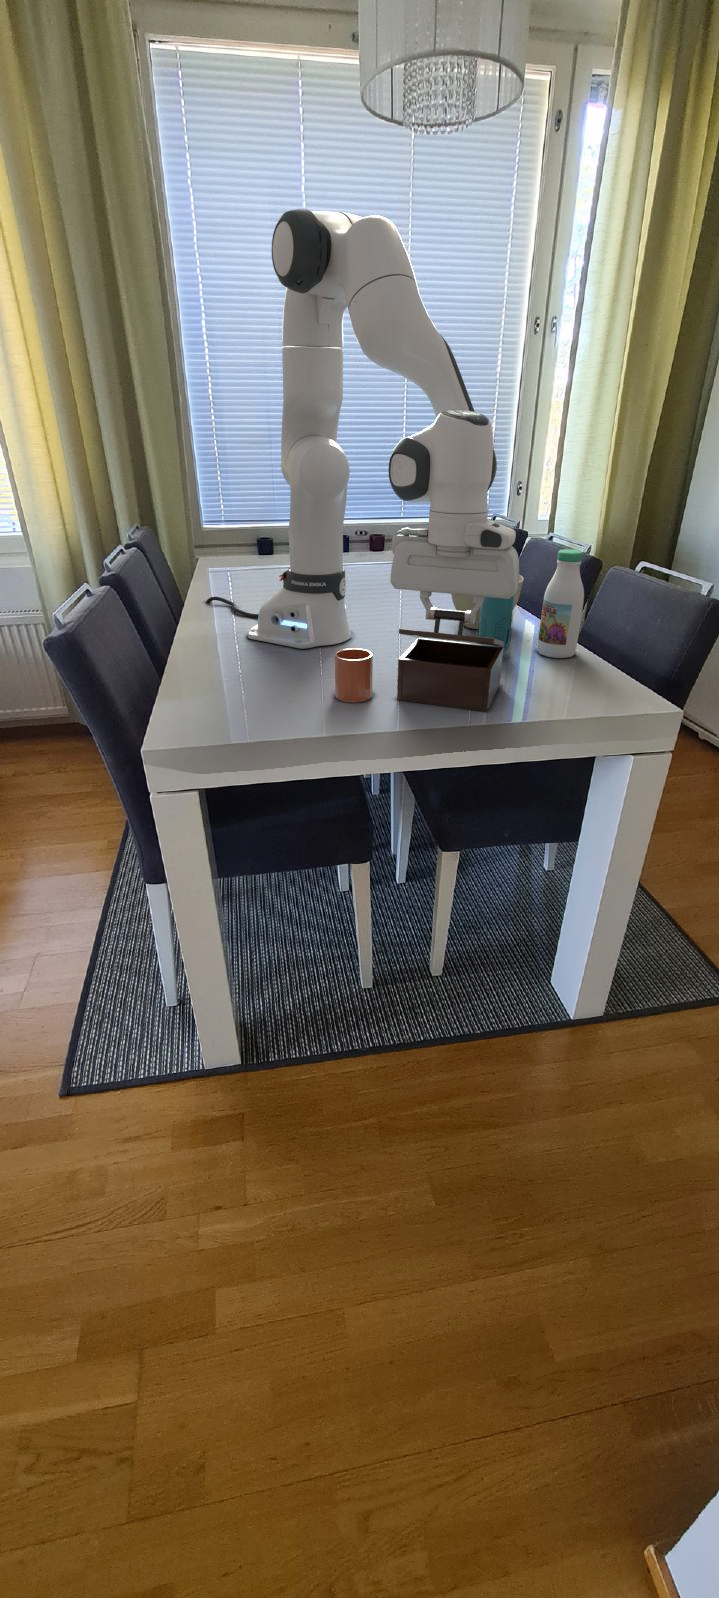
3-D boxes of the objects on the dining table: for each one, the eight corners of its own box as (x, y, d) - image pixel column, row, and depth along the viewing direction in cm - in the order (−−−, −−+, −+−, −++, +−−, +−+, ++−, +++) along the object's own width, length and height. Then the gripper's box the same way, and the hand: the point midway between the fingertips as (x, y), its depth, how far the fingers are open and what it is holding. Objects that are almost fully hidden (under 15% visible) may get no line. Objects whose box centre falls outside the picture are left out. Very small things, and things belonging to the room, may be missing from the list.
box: (486, 711, 115) (490, 669, 112) (397, 699, 120) (398, 658, 116) (499, 685, 126) (503, 646, 122) (416, 675, 130) (418, 637, 126)
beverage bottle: (508, 661, 137) (520, 556, 127) (474, 659, 138) (483, 555, 128) (509, 651, 143) (520, 549, 133) (476, 649, 144) (485, 548, 134)
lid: (493, 643, 109) (497, 613, 108) (398, 633, 114) (401, 604, 113) (503, 646, 122) (507, 619, 121) (417, 637, 126) (421, 611, 125)
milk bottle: (557, 645, 146) (572, 545, 136) (583, 655, 140) (600, 552, 130) (528, 650, 143) (541, 549, 133) (553, 661, 137) (569, 556, 127)
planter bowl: (433, 625, 159) (435, 577, 153) (471, 611, 169) (475, 565, 164) (494, 639, 149) (499, 588, 144) (530, 623, 160) (536, 575, 155)
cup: (330, 699, 120) (329, 657, 116) (343, 687, 125) (342, 646, 121) (365, 704, 118) (365, 662, 114) (376, 691, 123) (377, 650, 119)
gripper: (386, 529, 107) (383, 619, 113) (519, 537, 101) (509, 632, 107) (398, 524, 112) (395, 610, 119) (526, 532, 106) (515, 622, 113)
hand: (450, 621), depth 113 cm, fingers closed on lid, 5 cm apart
